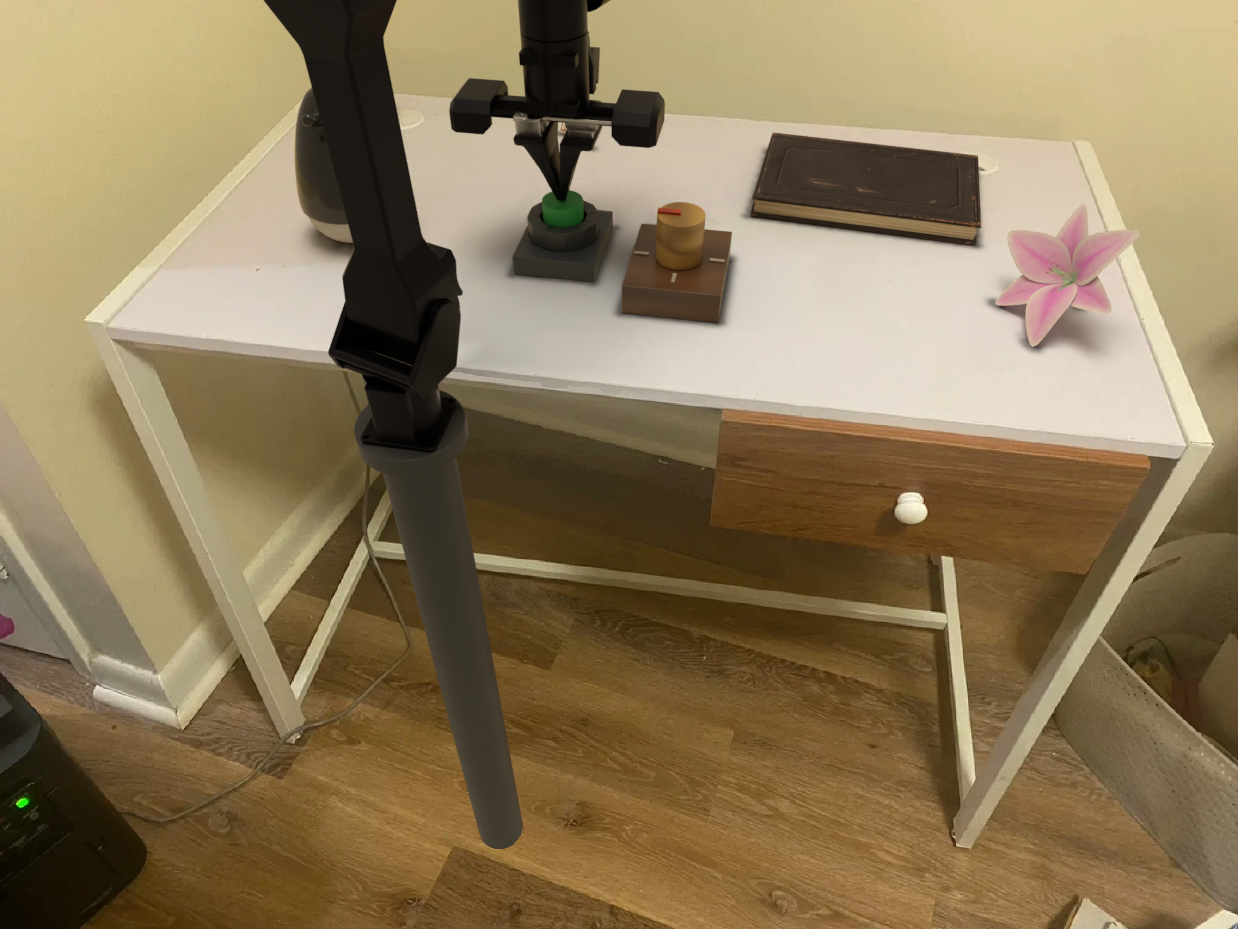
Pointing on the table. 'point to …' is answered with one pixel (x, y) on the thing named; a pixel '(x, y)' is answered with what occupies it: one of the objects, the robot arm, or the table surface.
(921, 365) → the table surface
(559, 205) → the button
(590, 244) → the button base
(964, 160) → the hardcover book
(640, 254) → the panel
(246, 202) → the table surface
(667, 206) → the dial
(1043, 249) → the lily
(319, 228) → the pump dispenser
